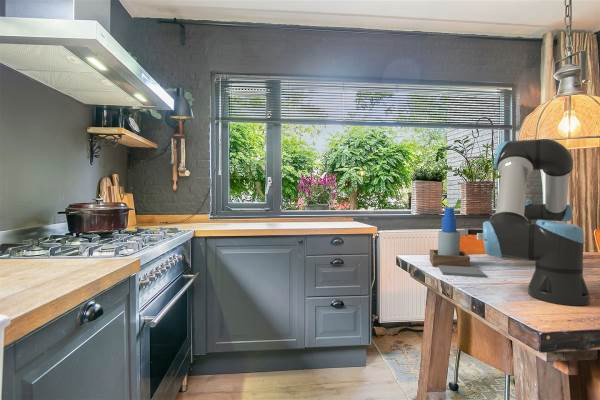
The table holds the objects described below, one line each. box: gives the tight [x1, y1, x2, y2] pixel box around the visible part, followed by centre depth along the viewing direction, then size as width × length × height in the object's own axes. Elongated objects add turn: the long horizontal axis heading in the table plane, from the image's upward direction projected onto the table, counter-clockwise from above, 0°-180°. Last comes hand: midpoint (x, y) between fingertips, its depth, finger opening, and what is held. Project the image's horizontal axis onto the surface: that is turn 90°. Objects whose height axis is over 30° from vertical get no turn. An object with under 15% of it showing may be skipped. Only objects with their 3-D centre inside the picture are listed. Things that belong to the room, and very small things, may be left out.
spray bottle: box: [437, 207, 461, 256], centre depth 153 cm, size 9×9×25 cm
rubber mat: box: [438, 265, 487, 278], centre depth 138 cm, size 13×15×1 cm
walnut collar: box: [429, 249, 471, 268], centre depth 153 cm, size 14×14×5 cm
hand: (466, 234), depth 155 cm, fingers open, 13 cm apart
